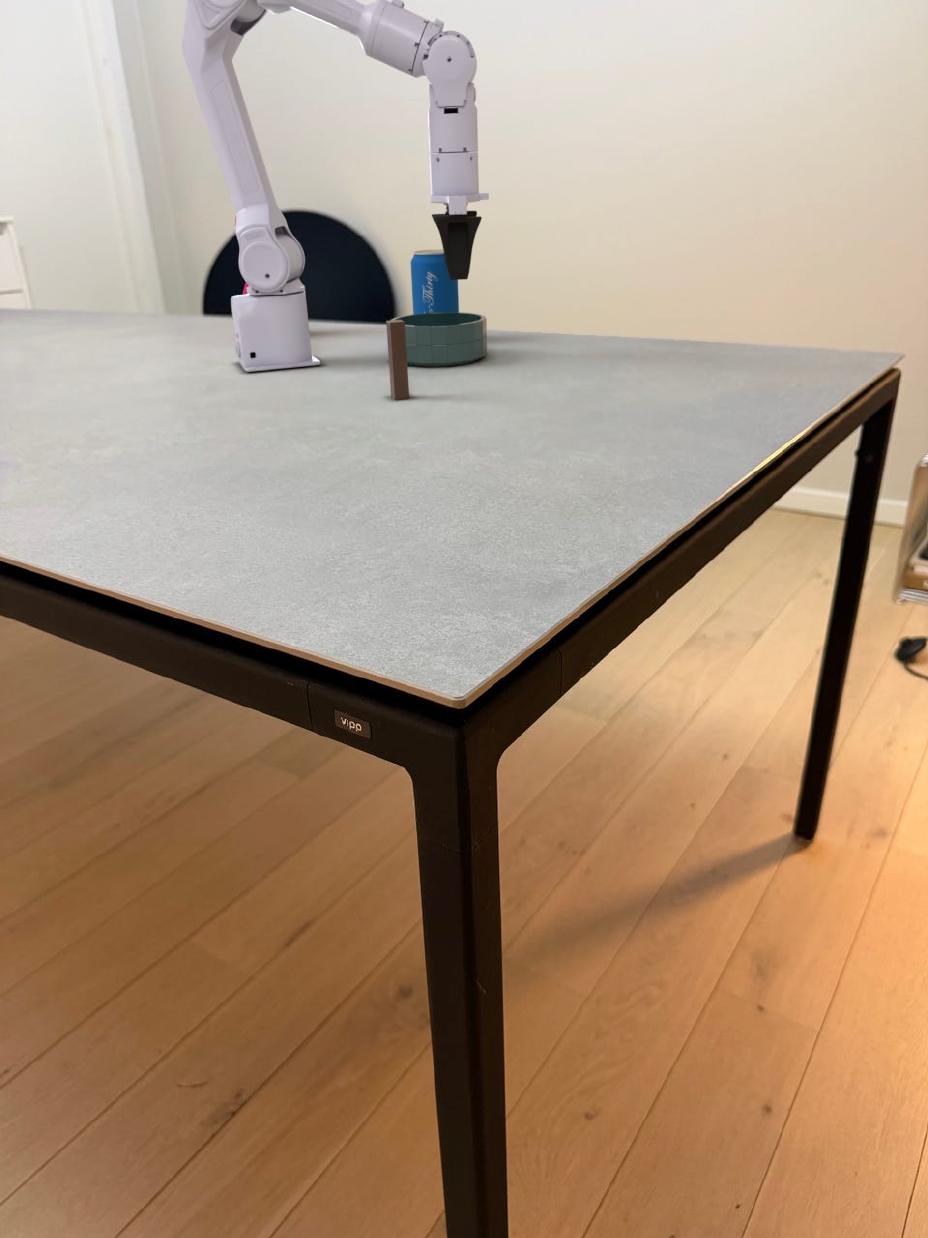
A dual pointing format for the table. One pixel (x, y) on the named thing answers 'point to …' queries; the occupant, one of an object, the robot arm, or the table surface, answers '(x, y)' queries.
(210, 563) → the table surface
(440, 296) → the beverage can
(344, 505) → the table surface
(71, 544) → the table surface
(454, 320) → the bowl
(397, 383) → the stirring stick
